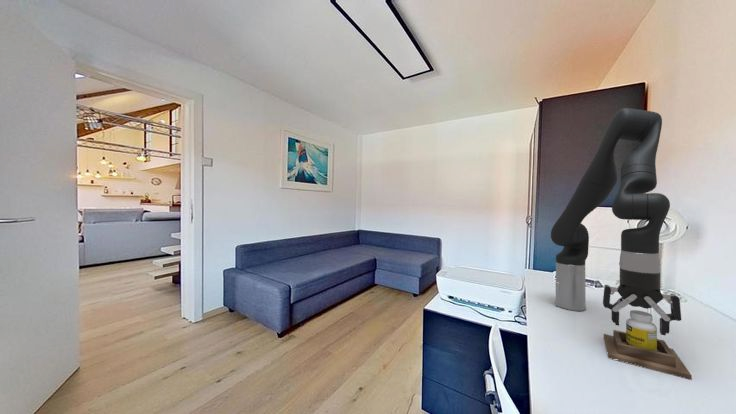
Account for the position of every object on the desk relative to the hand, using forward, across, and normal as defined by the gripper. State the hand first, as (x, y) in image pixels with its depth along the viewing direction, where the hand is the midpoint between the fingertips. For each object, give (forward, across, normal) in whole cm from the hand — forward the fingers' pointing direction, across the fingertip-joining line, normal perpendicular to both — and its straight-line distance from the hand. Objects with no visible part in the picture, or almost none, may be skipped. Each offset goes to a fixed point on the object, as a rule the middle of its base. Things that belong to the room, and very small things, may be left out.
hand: (639, 329), depth 70 cm
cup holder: (+7, 0, 0) cm, 7 cm away
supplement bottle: (+6, 0, 0) cm, 6 cm away
